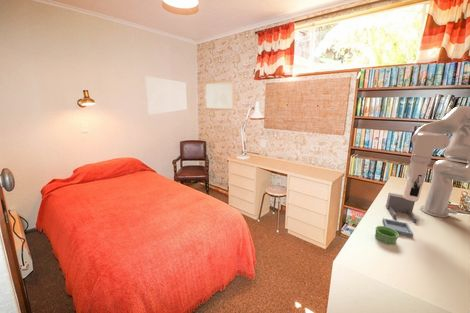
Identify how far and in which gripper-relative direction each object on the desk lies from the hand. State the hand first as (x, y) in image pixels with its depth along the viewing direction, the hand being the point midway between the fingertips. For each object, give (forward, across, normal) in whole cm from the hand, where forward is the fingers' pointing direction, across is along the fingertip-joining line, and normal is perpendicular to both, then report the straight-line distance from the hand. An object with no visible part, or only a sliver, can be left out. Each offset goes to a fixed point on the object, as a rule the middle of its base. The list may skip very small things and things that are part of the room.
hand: (411, 193), depth 113 cm
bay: (+18, -13, +2) cm, 22 cm away
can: (+3, 0, 0) cm, 3 cm away
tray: (+18, +7, -4) cm, 20 cm away
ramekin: (+19, +20, -11) cm, 29 cm away
